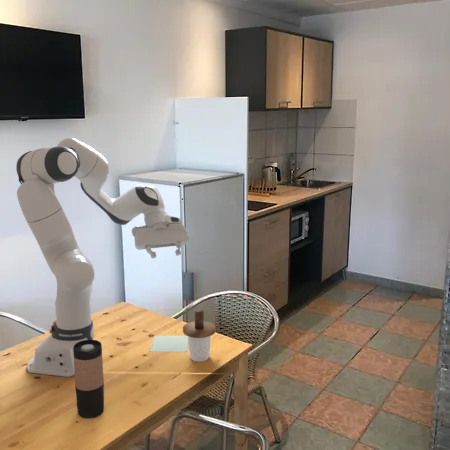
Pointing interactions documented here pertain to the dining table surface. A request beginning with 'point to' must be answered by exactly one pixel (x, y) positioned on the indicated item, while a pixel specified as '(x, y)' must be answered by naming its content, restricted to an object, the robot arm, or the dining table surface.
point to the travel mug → (89, 378)
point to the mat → (169, 344)
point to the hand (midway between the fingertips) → (166, 256)
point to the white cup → (199, 348)
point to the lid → (199, 326)
